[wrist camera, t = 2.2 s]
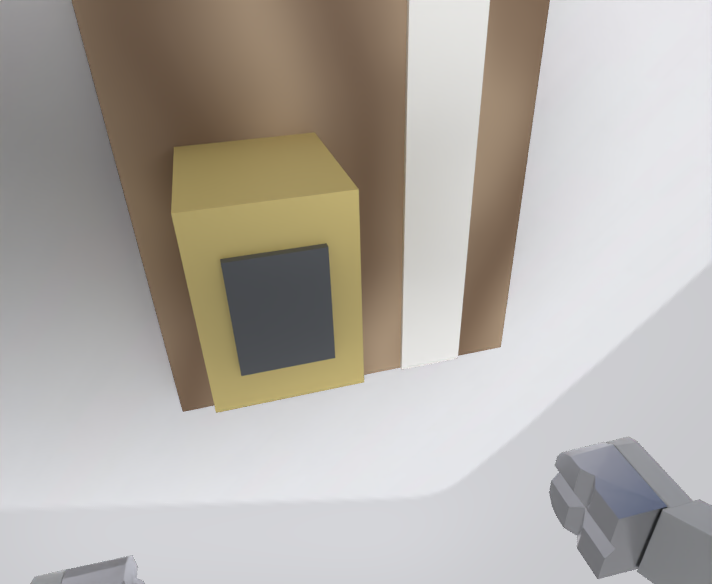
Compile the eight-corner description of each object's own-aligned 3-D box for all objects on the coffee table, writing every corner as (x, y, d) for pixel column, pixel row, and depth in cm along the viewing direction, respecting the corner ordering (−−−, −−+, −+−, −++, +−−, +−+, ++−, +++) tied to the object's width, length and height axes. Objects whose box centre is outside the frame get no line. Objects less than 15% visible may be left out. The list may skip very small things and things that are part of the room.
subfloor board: (182, 390, 26) (182, 414, 25) (75, -18, 17) (66, -16, 16) (487, 330, 29) (502, 349, 28) (532, -36, 20) (558, -36, 19)
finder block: (208, 313, 23) (216, 418, 17) (173, 146, 19) (171, 217, 14) (325, 293, 24) (365, 387, 18) (314, 132, 20) (361, 192, 15)
